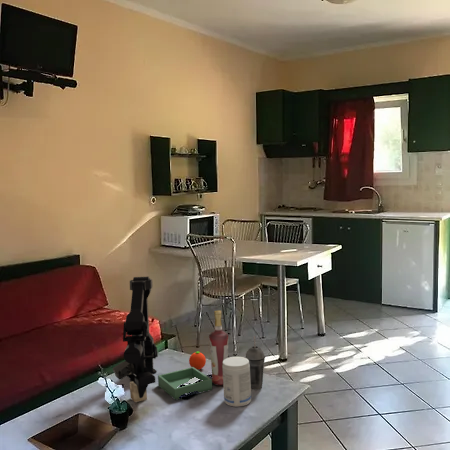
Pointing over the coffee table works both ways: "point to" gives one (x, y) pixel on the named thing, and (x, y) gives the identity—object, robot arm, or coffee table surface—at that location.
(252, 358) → the beverage cup
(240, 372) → the supplement tub
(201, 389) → the green bin
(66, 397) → the coffee table surface
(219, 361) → the liquor
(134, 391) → the beech block
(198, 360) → the clementine
